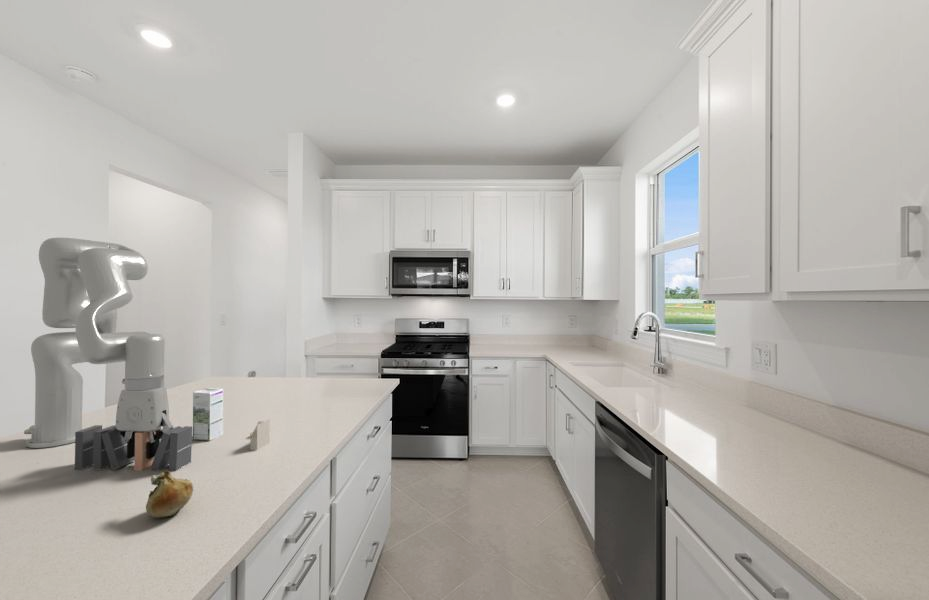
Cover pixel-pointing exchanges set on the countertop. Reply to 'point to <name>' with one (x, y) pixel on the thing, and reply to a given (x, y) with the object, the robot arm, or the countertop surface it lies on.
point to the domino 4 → (141, 451)
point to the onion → (168, 495)
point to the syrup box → (207, 414)
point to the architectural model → (260, 435)
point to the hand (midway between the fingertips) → (143, 455)
